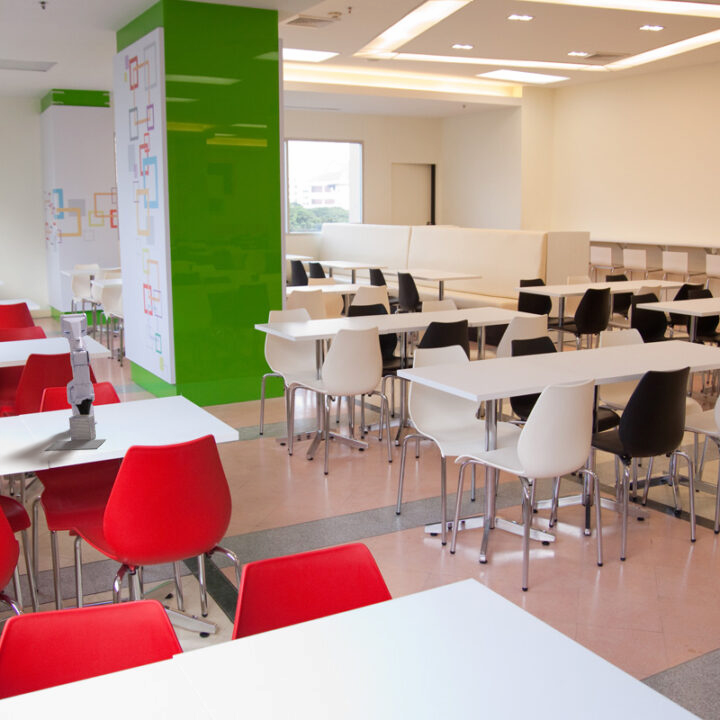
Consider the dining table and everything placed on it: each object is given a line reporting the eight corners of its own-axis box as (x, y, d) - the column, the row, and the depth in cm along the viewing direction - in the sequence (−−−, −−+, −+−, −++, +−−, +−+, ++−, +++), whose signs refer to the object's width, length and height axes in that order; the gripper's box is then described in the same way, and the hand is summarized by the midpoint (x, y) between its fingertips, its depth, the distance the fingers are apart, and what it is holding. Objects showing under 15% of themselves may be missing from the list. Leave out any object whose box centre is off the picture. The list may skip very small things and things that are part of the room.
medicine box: (96, 437, 307) (94, 414, 306) (91, 440, 303) (89, 417, 301) (75, 437, 308) (73, 414, 307) (70, 440, 304) (68, 417, 302)
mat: (56, 441, 302) (56, 441, 302) (106, 440, 303) (105, 439, 303) (44, 450, 290) (44, 449, 290) (96, 448, 291) (96, 448, 291)
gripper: (87, 386, 299) (90, 423, 301) (98, 379, 313) (101, 414, 315) (67, 387, 299) (70, 424, 301) (79, 379, 313) (82, 415, 315)
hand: (85, 419), depth 308 cm, fingers closed
